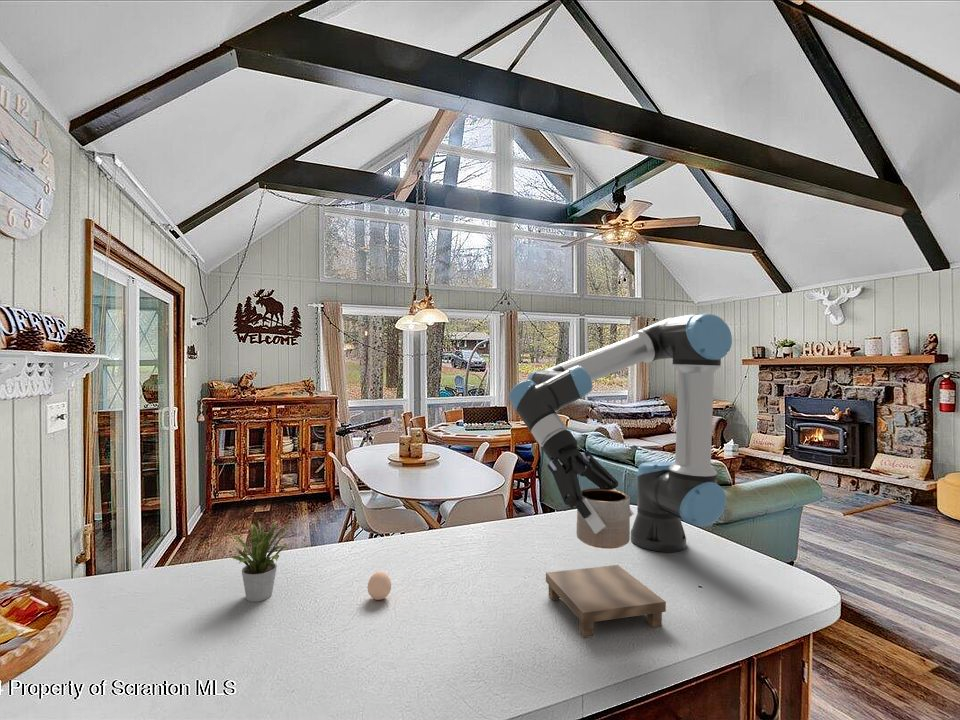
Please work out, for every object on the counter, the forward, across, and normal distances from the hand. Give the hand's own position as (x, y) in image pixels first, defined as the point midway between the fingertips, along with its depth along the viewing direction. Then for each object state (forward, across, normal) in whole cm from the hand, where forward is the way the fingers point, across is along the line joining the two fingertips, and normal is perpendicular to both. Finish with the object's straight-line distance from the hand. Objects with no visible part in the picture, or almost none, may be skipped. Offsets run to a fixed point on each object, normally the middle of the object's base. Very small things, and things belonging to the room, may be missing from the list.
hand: (615, 523), depth 104 cm
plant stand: (+11, 0, -15) cm, 19 cm away
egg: (-14, +31, -41) cm, 53 cm away
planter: (+1, 0, -5) cm, 5 cm away
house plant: (-27, +48, -54) cm, 77 cm away
